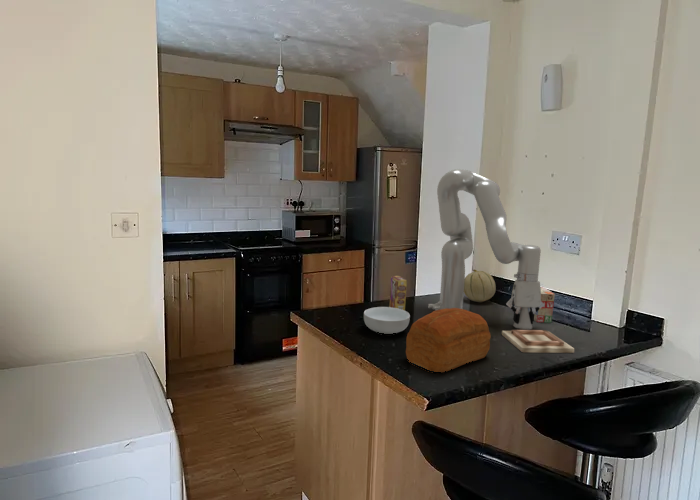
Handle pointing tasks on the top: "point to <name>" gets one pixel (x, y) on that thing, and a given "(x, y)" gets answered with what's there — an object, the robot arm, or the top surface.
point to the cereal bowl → (386, 319)
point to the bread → (447, 339)
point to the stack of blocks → (545, 306)
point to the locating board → (537, 341)
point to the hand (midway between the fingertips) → (523, 322)
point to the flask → (524, 319)
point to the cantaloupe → (479, 286)
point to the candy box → (398, 292)
